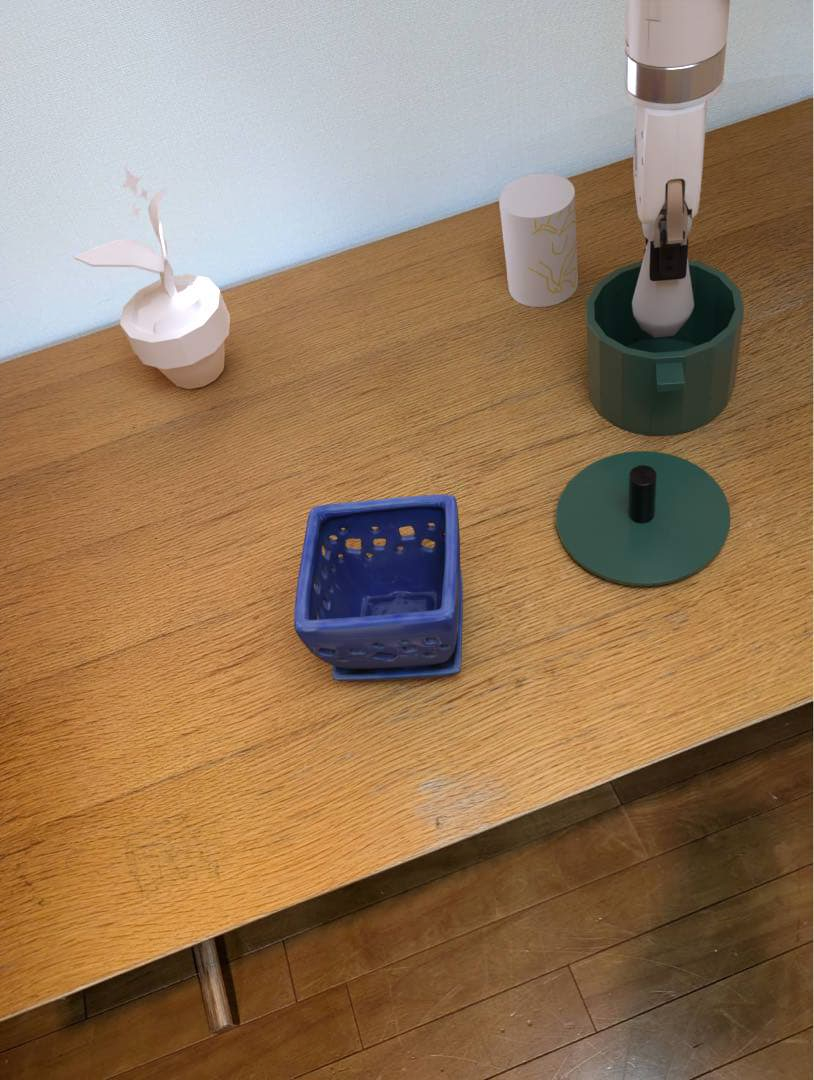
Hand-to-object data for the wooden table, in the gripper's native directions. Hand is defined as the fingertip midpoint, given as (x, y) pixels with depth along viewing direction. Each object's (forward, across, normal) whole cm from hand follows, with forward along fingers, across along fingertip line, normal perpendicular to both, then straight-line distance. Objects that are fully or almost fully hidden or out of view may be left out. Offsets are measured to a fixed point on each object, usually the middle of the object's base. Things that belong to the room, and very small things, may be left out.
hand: (665, 258), depth 91 cm
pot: (+16, 0, 0) cm, 16 cm away
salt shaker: (+8, 0, 0) cm, 8 cm away
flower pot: (+16, +30, -25) cm, 42 cm away
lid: (+15, +18, -3) cm, 24 cm away
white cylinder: (+16, -18, -12) cm, 27 cm away
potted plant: (+16, -7, -53) cm, 56 cm away
